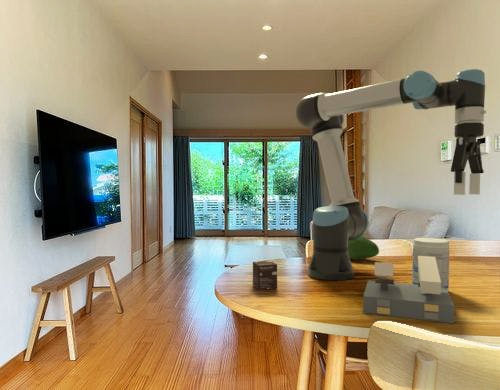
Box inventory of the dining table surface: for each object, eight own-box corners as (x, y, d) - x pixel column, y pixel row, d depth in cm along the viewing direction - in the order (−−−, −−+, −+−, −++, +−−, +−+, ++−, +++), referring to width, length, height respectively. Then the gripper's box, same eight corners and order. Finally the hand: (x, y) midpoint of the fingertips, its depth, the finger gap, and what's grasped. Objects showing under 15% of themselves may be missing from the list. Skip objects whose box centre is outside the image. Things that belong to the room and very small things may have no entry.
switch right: (421, 292, 84) (421, 280, 83) (417, 266, 96) (417, 255, 96) (440, 294, 82) (441, 282, 81) (434, 267, 95) (435, 256, 94)
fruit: (383, 260, 152) (383, 236, 151) (372, 264, 144) (372, 238, 144) (349, 255, 162) (349, 233, 162) (338, 259, 154) (338, 235, 154)
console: (363, 313, 87) (363, 285, 87) (368, 294, 102) (368, 271, 102) (454, 323, 80) (454, 293, 80) (444, 302, 95) (445, 276, 95)
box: (257, 290, 107) (257, 265, 107) (252, 285, 112) (252, 261, 112) (277, 289, 108) (277, 264, 108) (271, 284, 114) (271, 260, 114)
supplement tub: (406, 286, 111) (406, 237, 111) (435, 285, 112) (435, 237, 111) (424, 295, 101) (424, 242, 101) (456, 294, 102) (457, 241, 102)
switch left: (374, 274, 87) (374, 262, 87) (377, 276, 99) (377, 265, 100) (392, 276, 85) (392, 263, 86) (393, 277, 98) (393, 266, 99)
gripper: (469, 116, 98) (467, 195, 99) (495, 127, 115) (493, 194, 116) (439, 119, 104) (437, 194, 105) (468, 129, 121) (467, 193, 121)
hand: (467, 194), depth 110 cm, fingers open, 13 cm apart
